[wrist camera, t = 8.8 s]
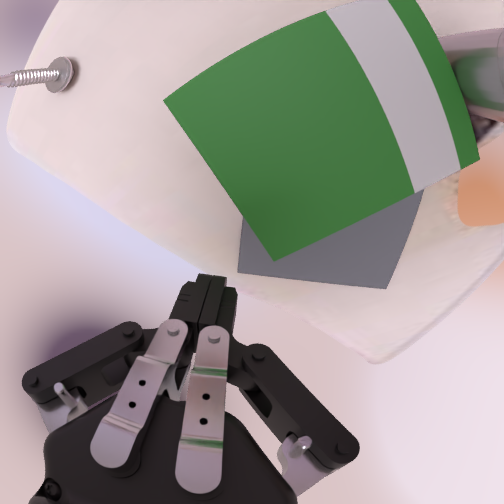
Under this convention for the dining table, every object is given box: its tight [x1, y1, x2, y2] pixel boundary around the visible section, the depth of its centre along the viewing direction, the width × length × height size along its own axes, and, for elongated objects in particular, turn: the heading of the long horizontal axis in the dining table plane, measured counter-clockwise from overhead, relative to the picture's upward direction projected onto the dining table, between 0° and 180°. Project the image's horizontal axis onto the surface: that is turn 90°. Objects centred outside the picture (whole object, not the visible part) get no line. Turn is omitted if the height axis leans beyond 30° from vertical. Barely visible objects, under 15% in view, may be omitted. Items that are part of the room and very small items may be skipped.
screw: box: [0, 57, 74, 93], centre depth 17 cm, size 13×5×5 cm
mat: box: [238, 189, 424, 289], centre depth 30 cm, size 22×24×1 cm
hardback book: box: [163, 0, 480, 262], centre depth 22 cm, size 18×7×24 cm
